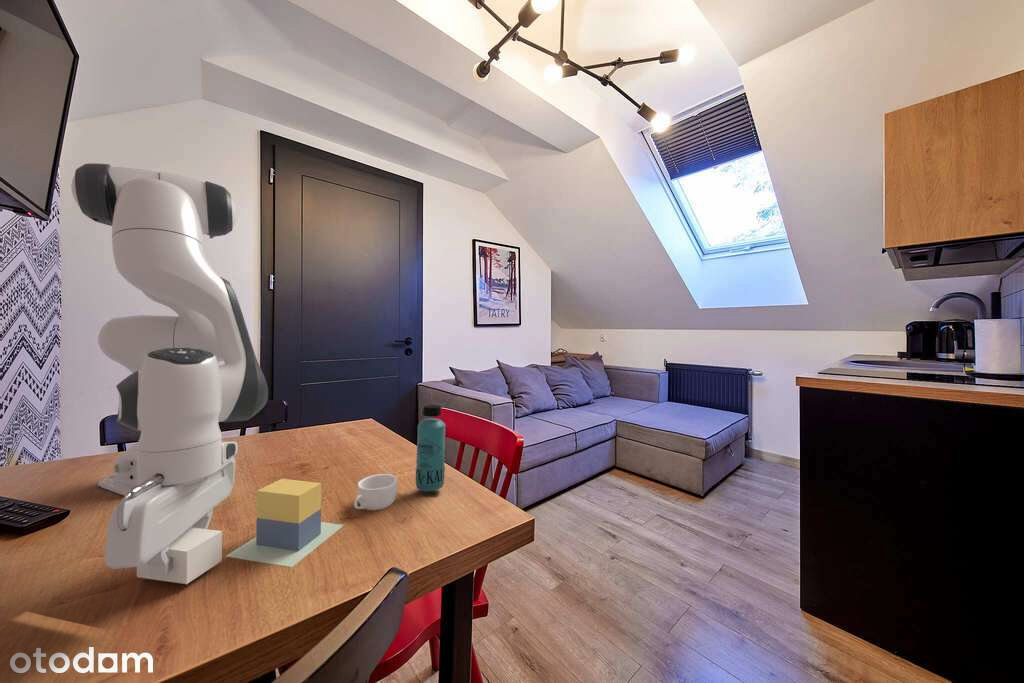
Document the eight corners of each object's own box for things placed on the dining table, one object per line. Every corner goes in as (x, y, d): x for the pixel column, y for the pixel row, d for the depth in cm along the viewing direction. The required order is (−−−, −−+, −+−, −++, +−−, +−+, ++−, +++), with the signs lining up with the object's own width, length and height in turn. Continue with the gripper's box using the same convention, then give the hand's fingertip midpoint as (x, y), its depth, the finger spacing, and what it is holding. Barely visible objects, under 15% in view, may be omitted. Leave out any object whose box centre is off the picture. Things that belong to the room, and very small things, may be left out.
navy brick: (256, 544, 58) (256, 517, 58) (281, 528, 63) (281, 503, 63) (298, 551, 57) (298, 523, 57) (320, 534, 62) (321, 508, 61)
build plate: (225, 561, 55) (225, 556, 55) (287, 521, 67) (287, 517, 67) (291, 572, 53) (292, 567, 53) (343, 529, 65) (343, 524, 65)
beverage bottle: (417, 486, 84) (419, 402, 83) (446, 485, 84) (447, 402, 84) (412, 498, 77) (414, 408, 77) (443, 498, 78) (445, 408, 77)
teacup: (376, 495, 78) (377, 471, 78) (404, 502, 76) (405, 477, 75) (339, 516, 69) (340, 489, 69) (369, 525, 66) (370, 497, 66)
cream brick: (136, 577, 49) (136, 545, 49) (175, 554, 54) (176, 525, 54) (186, 584, 48) (187, 551, 48) (221, 560, 53) (222, 531, 53)
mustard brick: (256, 517, 58) (256, 490, 58) (281, 503, 63) (281, 478, 63) (298, 523, 57) (299, 495, 56) (321, 508, 61) (321, 483, 61)
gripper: (151, 493, 41) (151, 609, 41) (243, 440, 61) (242, 518, 61) (84, 497, 39) (84, 618, 40) (200, 441, 59) (200, 522, 60)
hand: (181, 557), depth 51 cm, fingers closed on cream brick, 6 cm apart
